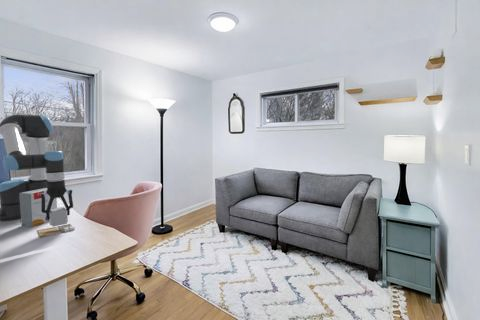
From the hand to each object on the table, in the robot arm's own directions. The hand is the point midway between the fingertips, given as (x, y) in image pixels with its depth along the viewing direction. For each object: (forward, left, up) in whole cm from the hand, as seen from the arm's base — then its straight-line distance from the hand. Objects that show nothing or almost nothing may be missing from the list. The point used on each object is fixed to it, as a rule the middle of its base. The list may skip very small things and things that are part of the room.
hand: (58, 223), depth 128 cm
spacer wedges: (+5, +3, -4) cm, 7 cm away
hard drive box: (-22, -6, -5) cm, 23 cm away
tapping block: (0, 0, 0) cm, 0 cm away
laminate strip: (0, +3, -5) cm, 6 cm away
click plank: (0, -5, -5) cm, 6 cm away
